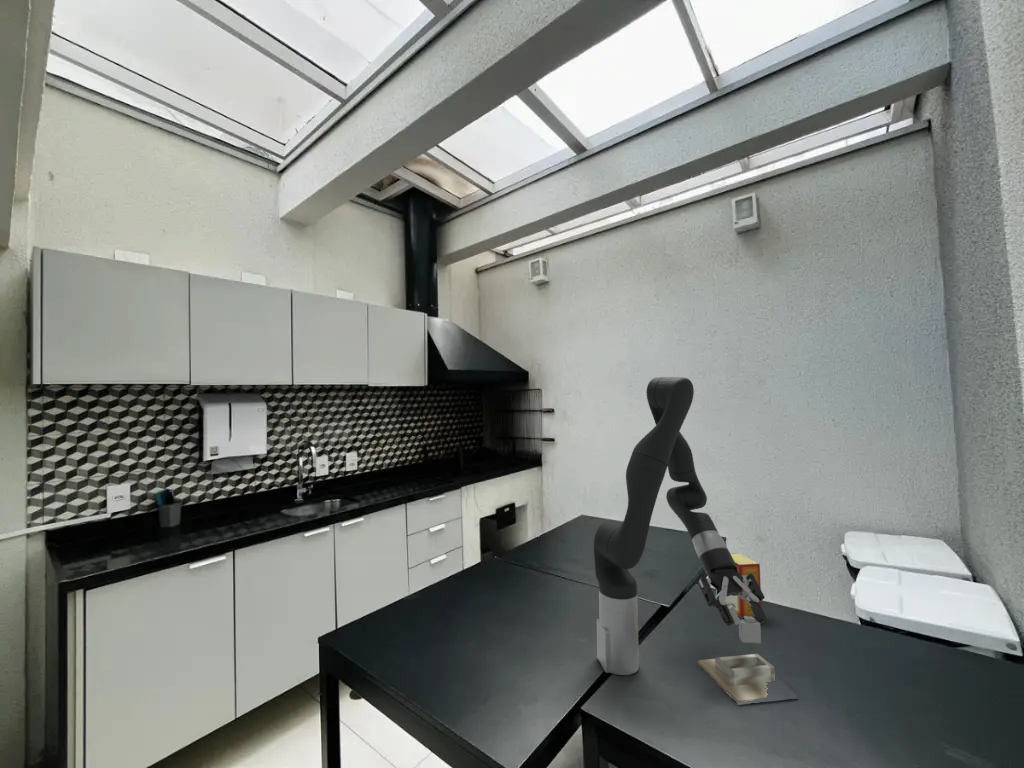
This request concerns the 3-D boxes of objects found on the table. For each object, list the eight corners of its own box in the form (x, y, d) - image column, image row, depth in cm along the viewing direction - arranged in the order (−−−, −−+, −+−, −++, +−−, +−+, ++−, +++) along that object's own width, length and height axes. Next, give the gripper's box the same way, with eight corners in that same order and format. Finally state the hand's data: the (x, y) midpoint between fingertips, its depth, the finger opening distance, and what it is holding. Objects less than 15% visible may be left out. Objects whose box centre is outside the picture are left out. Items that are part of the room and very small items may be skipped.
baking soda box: (721, 604, 130) (719, 552, 131) (740, 602, 131) (738, 551, 132) (741, 619, 121) (739, 563, 122) (761, 617, 121) (759, 562, 122)
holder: (738, 705, 85) (737, 685, 85) (698, 664, 99) (697, 647, 99) (797, 699, 87) (796, 679, 87) (750, 659, 101) (749, 642, 101)
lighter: (757, 638, 94) (756, 603, 95) (761, 643, 93) (759, 607, 93) (725, 637, 95) (724, 602, 95) (728, 641, 93) (727, 606, 94)
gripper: (693, 547, 101) (725, 620, 89) (745, 544, 103) (784, 615, 91) (682, 561, 106) (711, 632, 94) (732, 558, 108) (767, 626, 96)
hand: (747, 623), depth 93 cm, fingers closed on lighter, 7 cm apart
